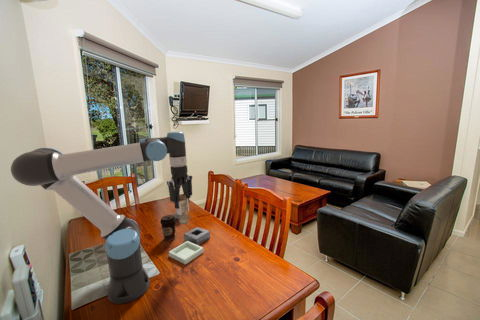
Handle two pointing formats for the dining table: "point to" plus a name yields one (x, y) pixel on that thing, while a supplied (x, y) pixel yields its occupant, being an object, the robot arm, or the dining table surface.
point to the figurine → (177, 216)
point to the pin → (183, 209)
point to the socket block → (197, 235)
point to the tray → (186, 252)
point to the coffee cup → (168, 227)
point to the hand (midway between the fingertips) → (183, 212)
